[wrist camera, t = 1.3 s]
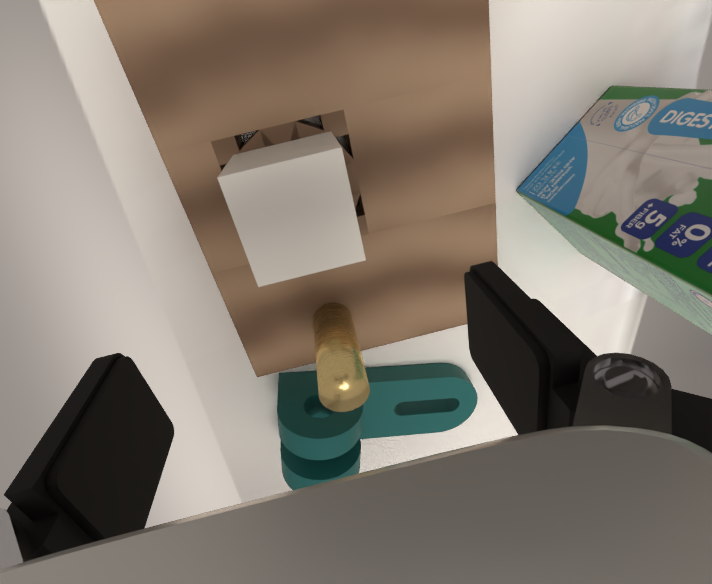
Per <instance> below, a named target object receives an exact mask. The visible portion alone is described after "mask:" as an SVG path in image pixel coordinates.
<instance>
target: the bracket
mask: <svg viewBox="0 0 712 584" xmlns="http://www.w3.org/2000/svg"><path fill="white" fill-rule="evenodd" d="M365 371H366V375H367V379H368V383H369V387H370V393H369V397H368V398H367V400H366V401H365V402H364V404H362V405H361V406H360V407H358V408H356V409H354V410H351V411H347V412H336V411H332V410H330V409H328V408H326V407H325V406H324V405H323V404H322V403H321V401H320V399H319V392H318V380H317V371H304V372H289V373H279V382H278V405H277V412H278V425H279V435H280V438H281V462H282V472H283V476H284V479H285V481H286V483H287V484H288V485H289V487H290V488H291V489H292V490H296V489H300V488H304V487H308V486H311V485H315V484H319V483H323V482H327V481H331V480H335V479H339V478H343V477H347V476H351V475H355V474H358V473H359V469H360V454H361V442H360V439H367V438H378V437H390V436H401V435H413V434H424V433H435V432H443V431H447V430H450V429H452V428H455V427H457V426H458V425H460V424H462V423H463V422H464V421H465V420H467V419H468V418H469V417H470V415H471V414H472V413H473V411H474V409H475V407H476V404H477V393H476V390H475V388H474V387H473V385H472V383H471V381H470V380H469V378H468V376H467V375H466V373H465V372H464V371H463V370H462V369H461V368H460V367H458V366H456V365H453V364H449V363H430V364H414V365H399V366H383V367H367V368H365Z"/></svg>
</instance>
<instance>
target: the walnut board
mask: <svg viewBox="0 0 712 584" xmlns="http://www.w3.org/2000/svg"><path fill="white" fill-rule="evenodd" d="M94 2H95V4H96V7H97V9H98V11H99V14H100V16H101V18H102V20H103V23H104V25H105V27H106V30H107V32H108V34H109V37H110V39H111V41H112V44H113V46H114V48H115V50H116V53H117V55H118V57H119V60H120V62H121V64H122V67H123V69H124V71H125V74H126V76H127V78H128V80H129V83H130V85H131V87H132V90H133V92H134V94H135V97H136V99H137V101H138V104H139V106H140V108H141V110H142V113H143V115H144V117H145V120H146V122H147V124H148V127H149V129H150V131H151V134H152V136H153V138H154V140H155V143H156V145H157V147H158V150H159V152H160V154H161V157H162V159H163V161H164V164H165V166H166V168H167V171H168V173H169V175H170V177H171V180H172V182H173V184H174V187H175V189H176V191H177V194H178V196H179V198H180V201H181V203H182V205H183V207H184V210H185V212H186V214H187V217H188V219H189V221H190V224H191V226H192V228H193V231H194V233H195V235H196V237H197V240H198V242H199V244H200V247H201V249H202V251H203V254H204V256H205V258H206V261H207V263H208V265H209V267H210V270H211V272H212V274H213V277H214V279H215V281H216V284H217V286H218V288H219V291H220V293H221V295H222V297H223V300H224V302H225V304H226V307H227V309H228V311H229V314H230V316H231V318H232V321H233V323H234V325H235V327H236V330H237V332H238V334H239V337H240V339H241V341H242V344H243V346H244V348H245V351H246V353H247V355H248V357H249V360H250V362H251V364H252V367H253V369H254V371H255V374H256V376H257V377H260V376H264V375H268V374H272V373H276V372H280V371H284V370H288V369H292V368H296V367H299V366H303V365H307V364H311V363H315V362H316V356H315V344H314V332H313V315H314V313H315V311H316V310H317V309H318V308H319V307H321V306H322V305H324V304H327V303H340V304H342V305H344V306H346V307H347V308H348V309H349V310H350V312H351V314H352V318H353V322H354V326H355V330H356V334H357V338H358V342H359V346H360V350H361V351H362V350H366V349H370V348H374V347H378V346H382V345H386V344H390V343H394V342H398V341H402V340H406V339H410V338H413V337H417V336H421V335H425V334H429V333H433V332H437V331H441V330H445V329H449V328H453V327H457V326H461V325H465V324H467V310H466V297H465V284H464V274H465V272H470V267H471V266H472V265H476V264H480V263H484V262H488V261H493V262H494V263H495V264H496V265H497V266H498V262H497V233H496V203H495V174H494V145H493V116H492V87H491V58H490V29H489V0H94ZM318 115H319V117H320V122H321V126H320V125H317V124H314V123H311V122H308V121H305V120H302V119H306V118H310V117H314V116H318ZM256 130H257V131H256ZM252 131H256V132H255V133H254V134H253V135H252V136H251V137H250V138H249V139H248V141H247V142H246V143H245V144H243V141H242V138H241V135H240V134H244V133H248V132H252ZM330 131H331V132H332V133H333V135H334V136H335V138H336V137H339V136H343V135H345V136H346V141H347V146H348V151H349V152H348V151H347V150H346V149H345V148H344V147H343V145H342V144H341V143H340V142H339V141H338V140H337V141H338V142H339V144H340V145H341V147H342V151H343V155H344V160H345V165H346V169H347V174H348V179H349V183H350V188H351V193H352V197H353V202H354V207H355V211H356V216H357V221H358V225H359V230H360V235H361V239H362V244H363V249H364V253H365V258H366V260H365V261H361V262H357V263H353V264H349V265H345V266H341V267H337V268H333V269H329V270H325V271H321V272H317V273H313V274H309V275H305V276H301V277H297V278H293V279H289V280H285V281H281V282H277V283H273V284H269V285H265V286H261V287H258V285H257V282H256V280H255V277H254V274H253V272H252V269H251V266H250V264H249V261H248V258H247V256H246V253H245V250H244V248H243V245H242V242H241V240H240V237H239V234H238V232H237V229H236V226H235V224H234V221H233V218H232V216H231V213H230V210H229V208H228V205H227V202H226V200H225V197H224V195H223V192H222V189H221V187H220V184H219V181H218V179H217V177H218V176H219V174H220V173H221V171H222V170H223V169H224V167H225V166H226V164H227V163H228V162H229V160H230V159H231V157H232V156H233V155H235V154H239V153H243V152H247V151H251V150H255V149H259V148H264V147H268V146H272V145H276V144H280V143H284V142H288V141H292V140H297V139H301V138H305V137H309V136H313V135H317V134H321V133H325V132H330ZM358 199H359V205H357V202H358Z"/></svg>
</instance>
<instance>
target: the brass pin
mask: <svg viewBox="0 0 712 584" xmlns="http://www.w3.org/2000/svg"><path fill="white" fill-rule="evenodd" d="M313 332H314V344H315V356H316V368H317V380H318V392H319V399H320V401H321V403H322V404H323V405H324V406H325V407H326V408H328V409H330V410H332V411H336V412H347V411H351V410H354V409H356V408H358V407H360V406H361V405H362V404H364V402H365V401H366V400H367V398H368V397H369V393H370V387H369V383H368V379H367V375H366V371H365V367H364V363H363V358H362V354H361V350H360V346H359V342H358V338H357V334H356V330H355V326H354V322H353V318H352V314H351V312H350V310H349V309H348V308H347V307H346V306H344V305H342V304H340V303H327V304H324V305H322V306H321V307H319V308H318V309H317V310H316V311H315V313H314V315H313Z"/></svg>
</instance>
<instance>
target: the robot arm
mask: <svg viewBox="0 0 712 584" xmlns="http://www.w3.org/2000/svg"><path fill="white" fill-rule="evenodd" d="M464 284H465V297H466V310H467V324H468V337H469V349H470V354H471V357H472V359H473V361H474V363H475V364H476V366H477V368H478V369H479V371H480V373H481V374H482V376H483V378H484V379H485V381H486V382H487V384H488V386H489V387H490V389H491V391H492V392H493V394H494V396H495V397H496V399H497V401H498V402H499V404H500V405H501V407H502V409H503V410H504V412H505V414H506V415H507V417H508V419H509V420H510V422H511V423H512V425H513V427H514V428H515V430H516V432H517V433H518V435H517V436H512V437H507V438H503V439H499V440H494V441H490V442H486V443H481V444H477V445H473V446H469V447H464V448H460V449H456V450H452V451H447V452H443V453H439V454H435V455H431V456H427V457H423V458H419V459H415V460H411V461H407V462H403V463H399V464H395V465H391V466H387V467H383V468H379V469H375V470H371V471H367V472H363V473H359V474H355V475H351V476H347V477H343V478H339V479H335V480H331V481H327V482H323V483H319V484H315V485H311V486H308V487H304V488H300V489H296V490H292V491H288V492H284V493H280V494H276V495H272V496H268V497H264V498H261V499H257V500H253V501H249V502H245V503H241V504H237V505H233V506H230V507H226V508H222V509H218V510H214V511H210V512H206V513H202V514H199V515H195V516H191V517H187V518H183V519H180V520H176V521H172V522H168V523H164V524H160V525H156V526H153V527H149V528H145V525H146V521H147V518H148V515H149V512H150V509H151V506H152V502H153V500H154V496H155V493H156V490H157V487H158V484H159V481H160V478H161V474H162V471H163V468H164V465H165V462H166V459H167V456H168V452H169V449H170V446H171V443H172V439H173V436H174V427H173V424H172V422H171V420H170V419H169V417H168V416H167V414H166V412H165V411H164V409H163V408H162V406H161V405H160V403H159V401H158V400H157V398H156V397H155V395H154V394H153V392H152V390H151V389H150V387H149V385H148V384H147V382H146V381H145V379H144V378H143V376H142V375H141V373H140V371H139V370H138V368H137V366H136V365H135V363H134V362H133V360H132V359H131V358H130V357H125V356H124V355H122V354H120V353H116V354H112V355H108V356H105V357H100V358H97V359H95V360H94V361H93V362H92V364H91V366H90V367H89V369H88V370H87V371H86V373H85V374H84V376H83V377H82V379H81V380H80V382H79V383H78V385H77V386H76V388H75V389H74V391H73V392H72V394H71V395H70V397H69V398H68V400H67V401H66V403H65V404H64V406H63V407H62V409H61V410H60V412H59V413H58V415H57V416H56V418H55V419H54V421H53V422H52V424H51V425H50V427H49V428H48V430H47V431H46V433H45V434H44V436H43V437H42V439H41V440H40V441H39V443H38V445H37V446H36V448H35V449H34V451H33V452H32V453H31V455H30V456H29V458H28V459H27V461H26V462H25V464H24V465H23V467H22V469H21V470H20V471H19V473H18V474H17V476H16V477H15V479H14V480H13V482H12V483H11V485H10V486H9V488H8V489H7V491H6V492H5V494H4V496H6V497H7V498H8V499H9V500H10V501H11V502H12V503H11V504H10V506H9V508H8V509H7V511H6V510H5V509H0V584H712V399H710V398H706V397H702V396H698V395H694V394H690V393H686V392H682V391H678V390H674V389H672V386H671V383H670V379H669V377H668V375H667V374H666V373H665V372H664V371H663V369H661V368H660V367H658V366H657V365H656V364H654V363H653V362H650V361H648V360H646V359H644V358H642V357H638V356H634V355H631V354H624V353H608V354H603V355H599V356H596V355H595V354H594V353H593V352H592V351H591V350H590V349H589V348H588V347H587V346H586V345H585V344H584V343H583V342H582V341H581V340H580V339H579V338H578V337H577V336H575V335H574V334H573V333H572V332H571V331H570V330H569V329H568V328H567V327H566V326H565V325H564V324H563V323H562V322H561V321H560V320H559V319H558V318H557V317H556V316H555V315H554V314H553V313H551V312H550V311H549V310H548V309H547V308H546V307H545V306H544V305H543V304H542V303H541V302H540V301H538V300H537V299H531V298H530V297H529V296H528V295H527V294H526V293H525V292H524V291H522V290H521V289H520V288H519V287H518V286H517V285H516V284H515V283H514V282H513V281H512V280H511V279H510V278H509V277H508V276H507V275H506V274H505V273H504V272H503V271H502V270H501V269H500V268H499V267H498V266H497V265H496V264H495V263H494V262H493V261H488V262H484V263H480V264H476V265H472V266H471V267H470V272H465V274H464ZM144 528H145V529H144Z"/></svg>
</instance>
